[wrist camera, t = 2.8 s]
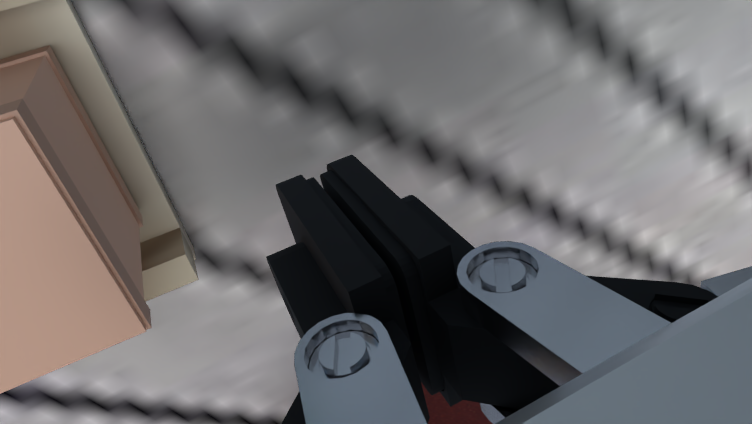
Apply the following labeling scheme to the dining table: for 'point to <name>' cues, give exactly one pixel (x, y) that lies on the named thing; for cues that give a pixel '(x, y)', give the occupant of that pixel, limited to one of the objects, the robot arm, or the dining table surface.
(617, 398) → the robot arm
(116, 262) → the pink-tan cube
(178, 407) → the dining table surface
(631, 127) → the dining table surface
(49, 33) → the bay
